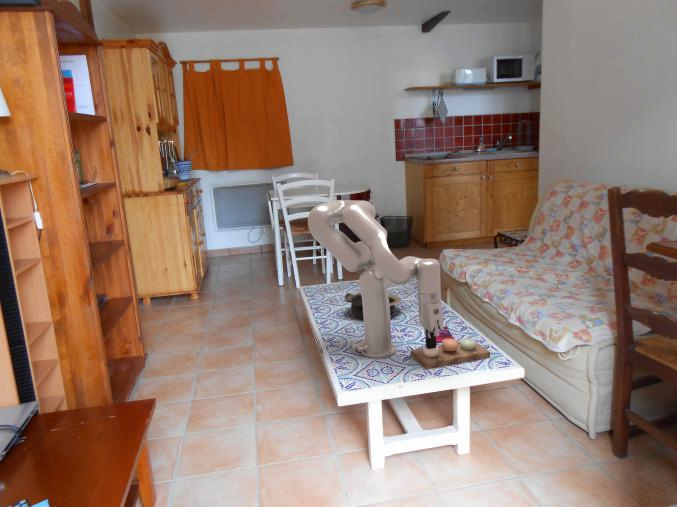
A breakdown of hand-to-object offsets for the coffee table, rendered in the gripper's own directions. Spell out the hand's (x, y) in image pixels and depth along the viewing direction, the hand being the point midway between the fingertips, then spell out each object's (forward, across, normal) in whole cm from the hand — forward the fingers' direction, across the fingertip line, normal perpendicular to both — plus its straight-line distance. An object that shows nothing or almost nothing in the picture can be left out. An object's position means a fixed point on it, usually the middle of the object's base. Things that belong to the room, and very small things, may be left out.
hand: (431, 347), depth 172 cm
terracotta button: (+1, 0, -7) cm, 7 cm away
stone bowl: (+5, +54, +2) cm, 54 cm away
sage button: (+2, 0, -14) cm, 14 cm away
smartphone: (+5, +19, -13) cm, 24 cm away
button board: (+5, 0, -7) cm, 8 cm away
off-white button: (+2, 0, 0) cm, 2 cm away
